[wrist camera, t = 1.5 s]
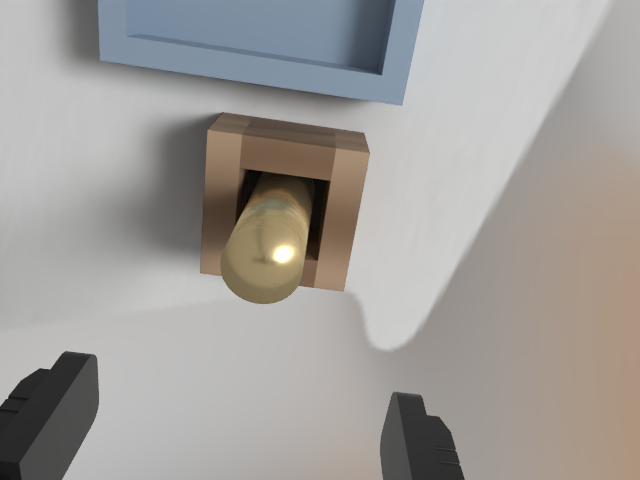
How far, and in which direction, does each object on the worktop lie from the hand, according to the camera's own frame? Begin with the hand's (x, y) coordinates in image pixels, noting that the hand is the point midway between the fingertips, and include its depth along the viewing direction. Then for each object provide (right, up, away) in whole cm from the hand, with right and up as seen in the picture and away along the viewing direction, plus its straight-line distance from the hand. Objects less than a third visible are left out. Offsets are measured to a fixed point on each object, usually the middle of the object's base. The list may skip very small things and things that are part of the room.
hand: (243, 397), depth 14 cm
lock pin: (0, +7, +15) cm, 17 cm away
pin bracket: (0, +7, +15) cm, 17 cm away
